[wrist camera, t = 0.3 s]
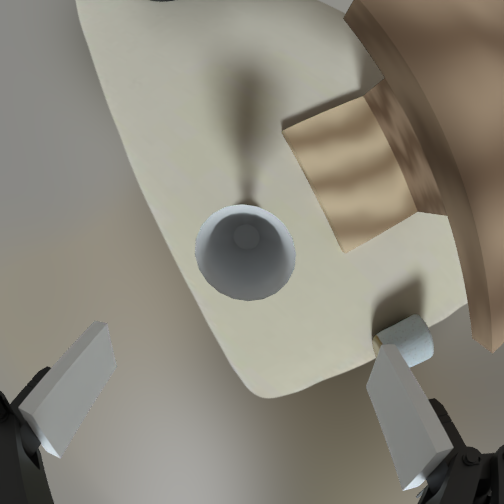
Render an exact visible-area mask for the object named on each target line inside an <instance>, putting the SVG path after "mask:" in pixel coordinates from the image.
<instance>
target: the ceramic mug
mask: <svg viewBox="0 0 504 504" xmlns="http://www.w3.org/2000/svg"><path fill="white" fill-rule="evenodd" d="M372 344H373V349H374V352H375V356H376V358H377V356H378V353H379V350H380V347H381V345H387V344H395V345H396V347H397V349H398V350H399V352H400V353H401V355H402V357H403V358H404V360H405V361H406V363H407V365H408V366H409V368H410V367H412V366H414V365H416V364H418V363H420V362H423V361H425V360H427V359H429V358H430V357H432V355H433V353H434V345H433V340H432V336H431V333H430V330H429V329H428V326H427V325H426V323H425V322H424V320H423V319H422V318H421V317H420V316H419V315H416V314H414V315H411V316H410V317H408V318H406V319H404V320H402V321H400V322H398V323H397V324H395V325H393V326H391V327H389V328H387V329H384V330H383V331H381V332H379V333H378V334H376V335H375V336H374V338H373V340H372Z"/></svg>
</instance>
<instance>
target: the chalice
mask: <svg viewBox="0 0 504 504" xmlns="http://www.w3.org/2000/svg"><path fill="white" fill-rule="evenodd" d="M195 256H196V260H197V263H198V267H199V270H200V271H201V273H202V274H203V276H204V277H205V279H206V281H207V282H208V283H209V284H210V285H211V286H213V287H214V288H215V289H216V290H217V291H218V292H220V293H222V294H224V295H226V296H229V297H231V298H233V299H239V300H245V301H252V300H259V299H264V298H266V297H268V296H271V295H273V294H275V293H277V292H278V291H279V290H280V289H281V288H282V287H283V286H284V285H285V284H286V283H287V282H288V280H289V278H290V276H291V274H292V272H293V270H294V266H295V257H296V252H295V247H294V242H293V238H292V237H291V235H290V233H289V231H288V230H287V228H286V226H285V225H284V224H283V223H282V222H281V221H280V220H279V219H278V218H277V217H276V216H275V215H274V214H272V213H270V212H268V211H266V210H264V209H262V208H260V207H256V206H250V205H244V204H241V205H234V206H227V207H225V208H223V209H221V210H219V211H217V212H215V213H213V214H212V215H211V216H210V217H209V218H208V219H207V220H206V221H205V222H204V223H203V224H202V226H201V228H200V231H199V233H198V235H197V238H196V247H195Z"/></svg>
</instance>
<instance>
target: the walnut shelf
mask: <svg viewBox="0 0 504 504" xmlns="http://www.w3.org/2000/svg"><path fill="white" fill-rule="evenodd" d="M343 19H344V20H345V21H346V23H347V24H348V25H349V26H350V28H351V29H352V30H353V32H354V33H355V34H356V36H357V37H358V38H359V40H360V41H361V43H362V44H363V45H364V47H365V48H366V50H367V51H368V53H369V54H370V56H371V57H372V59H373V60H374V62H375V63H376V65H377V66H378V68H379V69H380V71H381V72H382V74H383V76H384V77H385V78H384V79H383V80H382V81H381V82H379V83H378V84H377V85H376V86H375V87H373V88H372V89H371V90H370V91H369V92H367V93H366V94H365V95H364V96H362V97H359V98H357V99H354V100H352V101H349V102H346V103H344V104H342V105H339V106H337V107H334V108H332V109H329V110H327V111H325V112H322V113H320V114H318V115H315V116H313V117H311V118H309V119H306V120H304V121H302V122H300V123H297V124H295V125H293V126H291V127H289V128H287V129H285V130H283V131H282V134H283V136H284V137H285V139H286V141H287V143H288V145H289V146H290V148H291V150H292V152H293V154H294V155H295V157H296V159H297V161H298V163H299V165H300V167H301V168H302V170H303V172H304V174H305V176H306V178H307V180H308V182H309V184H310V186H311V188H312V190H313V191H314V193H315V195H316V197H317V199H318V201H319V203H320V205H321V207H322V209H323V212H324V214H325V216H326V218H327V220H328V222H329V224H330V226H331V228H332V230H333V232H334V235H335V237H336V239H337V241H338V243H339V245H340V248H341V250H342V251H343V252H344V253H347V252H349V251H351V250H353V249H354V248H356V247H358V246H360V245H361V244H363V243H365V242H367V241H368V240H370V239H372V238H374V237H375V236H377V235H379V234H381V233H382V232H384V231H386V230H388V229H389V228H391V227H393V226H394V225H396V224H398V223H399V222H401V221H403V220H405V219H406V218H408V217H410V216H411V215H413V214H415V213H416V212H424V213H432V214H439V215H445V216H448V219H449V222H450V226H451V229H452V233H453V236H454V240H455V244H456V248H457V251H458V256H459V260H460V264H461V269H462V273H463V278H464V283H465V288H466V294H467V300H468V306H469V312H470V320H471V329H472V338H473V339H474V340H476V341H477V342H478V343H479V344H481V345H482V346H484V347H485V348H486V349H487V350H489V351H490V352H491V353H493V352H494V351H495V350H496V349H497V348H499V347H500V346H501V345H502V344H503V343H504V0H354V1H353V2H352V4H351V6H350V7H349V9H348V11H347V13H346V14H345V16H344V18H343Z"/></svg>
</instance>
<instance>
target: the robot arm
mask: <svg viewBox="0 0 504 504" xmlns="http://www.w3.org/2000/svg"><path fill="white" fill-rule="evenodd" d="M152 1H173V0H152ZM116 367H117V365H116V361H115V357H114V353H113V348H112V343H111V339H110V334H109V329H108V324H107V323H104V322H98V321H94V322H93V323H92V324H91V325H90V326H89V327H88V328H87V330H86V331H85V332H84V333H83V334H82V335H81V336H80V337H79V338H78V339H77V340H76V341H75V342H74V343H73V344H72V346H71V347H70V348H69V349H68V350H67V351H66V352H65V353H64V354H63V356H62V357H61V358H60V359H59V360H58V361H57V362H56V363H55V365H54V366H53V367H52V368H50V367H46V368H44V369H42V370H40V371H39V372H38V373H37V374H36V375H35V376H34V377H33V378H32V380H31V381H30V382H29V383H28V384H27V386H25V388H24V389H23V390H22V391H21V392H20V393H19V394H18V396H17V397H16V398H15V399H14V400H13V401H12V403H11V404H9V403H8V401H7V399H6V397H5V395H4V394H3V393H2V392H1V391H0V504H54V502H53V499H52V496H51V492H50V489H49V486H48V482H47V478H46V474H45V471H44V466H43V462H42V457H41V453H40V451H39V449H38V447H39V446H40V444H42V446H43V447H44V448H45V450H46V451H47V452H49V453H51V454H53V455H55V456H57V457H59V458H61V457H62V455H63V453H64V451H65V450H66V448H67V446H68V445H69V443H70V441H71V439H72V438H73V436H74V434H75V433H76V431H77V429H78V428H79V426H80V424H81V423H82V421H83V420H84V418H85V416H86V415H87V413H88V411H89V410H90V408H91V406H92V405H93V403H94V402H95V400H96V398H97V397H98V395H99V394H100V392H101V391H102V389H103V387H104V386H105V384H106V383H107V381H108V380H109V378H110V376H111V375H112V373H113V372H114V370H115V369H116ZM366 388H367V391H368V393H369V395H370V398H371V401H372V404H373V406H374V409H375V412H376V414H377V417H378V419H379V422H380V425H381V428H382V431H383V433H384V436H385V439H386V442H387V445H388V448H389V451H390V454H391V456H392V459H393V462H394V465H395V468H396V471H397V474H398V478H399V480H400V484H401V487H402V490H407V489H411V488H414V487H418V486H419V485H420V484H421V483H422V482H423V481H424V480H425V479H426V480H427V483H428V485H427V486H426V487H425V488H424V489H423V490H422V491H421V492H420V493H419V494H418V495H417V496H416V497H417V498H418V497H420V496H421V495H422V496H421V498H420V500H419V502H418V504H504V445H503V446H501V447H500V448H499V449H498V450H497V451H496V453H489V454H481V453H480V452H479V451H478V450H477V449H475V448H473V447H467V446H466V445H465V443H464V442H463V440H462V438H461V436H460V434H459V432H458V431H457V429H456V427H455V425H454V424H453V422H451V419H450V417H449V416H448V413H447V411H446V410H445V408H444V406H443V405H442V404H441V403H440V402H438V401H437V400H436V399H435V398H434V399H427V397H426V395H425V393H424V392H423V390H422V388H421V387H420V385H419V384H418V382H417V380H416V378H415V376H414V375H413V373H412V372H411V370H410V368H409V366H408V365H407V363H406V361H405V360H404V358H403V357H402V355H401V353H400V352H399V350H398V349H397V347H396V345H395V344H387V345H381V347H380V350H379V353H378V356H377V358H376V362H375V364H374V367H373V370H372V372H371V375H370V378H369V380H368V383H367V386H366Z"/></svg>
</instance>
